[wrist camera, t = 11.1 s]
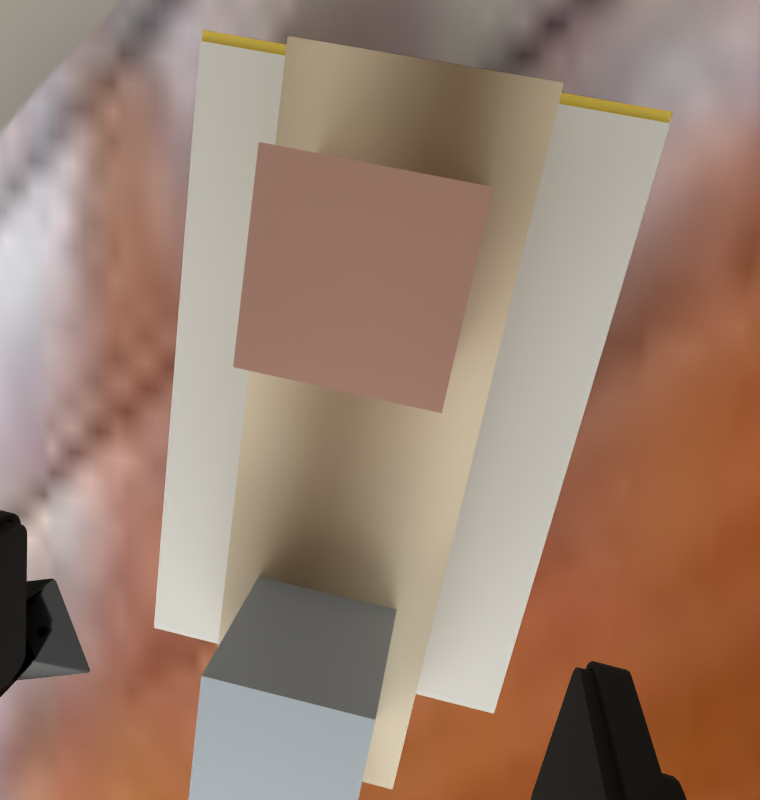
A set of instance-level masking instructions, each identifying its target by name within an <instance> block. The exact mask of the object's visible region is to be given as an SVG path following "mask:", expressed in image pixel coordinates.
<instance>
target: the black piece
mask: <svg viewBox="0 0 760 800" xmlns="http://www.w3.org/2000/svg"><path fill="white" fill-rule="evenodd" d="M89 671H90V669H89V666H88V664H87V661H86V658H85V656H84V653H83V651H82V648H81V645H80V643H79V640H78V638H77V635H76V632H75V630H74V627H73V624H72V622H71V619H70V617H69V614H68V611H67V609H66V606H65V604H64V601H63V598H62V596H61V593H60V591H59V588H58V585H57V583H56V581H55V580H54V579H44V580H36V581H28V582H26V653H25V658H24V662H23V664H22V666H21V668H20V670H19V671H18V673H17V674H16V675H15V676H14V678H13V679H12V680H11V681H10V682H8V683H7V684H6V685H5V686H4V687H3V688H2V689H1V690H0V697H1V696H2V695H3V694H4V693H5V692H6V691H7V690H8V689H9V688H10V686H11V685H12V684H13V683H14V682H15V681H16V680H23V679H33V678H42V677H52V676H62V675H71V674H81V673H88V672H89Z"/></svg>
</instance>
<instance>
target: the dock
mask: <svg viewBox="0 0 760 800" xmlns="http://www.w3.org/2000/svg"><path fill="white" fill-rule="evenodd" d="M285 54H286V45H285V44H280V43H274V42H268V41H262V40H257V39H251V38H245V37H239V36H234V35H228V34H222V33H216V32H211V31H205V30H203V36H202V41H200V45H199V58H198V71H197V84H196V97H195V109H194V122H193V135H192V148H191V161H190V173H189V186H188V199H187V212H186V225H185V237H184V250H183V263H182V276H181V289H180V301H179V314H178V327H177V340H176V353H175V365H174V378H173V391H172V404H171V417H170V429H169V442H168V455H167V468H166V481H165V493H164V506H163V519H162V532H161V545H160V557H159V570H158V583H157V596H156V609H155V621H154V628H157V629H161V630H165V631H169V632H173V633H177V634H181V635H185V636H189V637H193V638H197V639H201V640H205V641H209V642H213V643H217V644H218V639H219V630H220V622H221V613H222V604H223V596H224V587H225V578H226V569H227V561H228V552H229V543H230V534H231V526H232V517H233V508H234V499H235V491H236V482H237V473H238V465H239V456H240V447H241V438H242V430H243V421H244V412H245V403H246V395H247V386H248V377H249V371H248V370H244V369H239V368H235V367H233V363H234V355H235V346H236V337H237V328H238V319H239V311H240V302H241V293H242V284H243V275H244V267H245V258H246V249H247V240H248V231H249V223H250V214H251V205H252V196H253V187H254V179H255V170H256V161H257V152H258V143H259V142H262V143H267V144H272V145H275V142H276V133H277V124H278V115H279V107H280V98H281V89H282V80H283V72H284V63H285ZM671 115H672V112H670V111H665V110H659V109H653V108H647V107H642V106H636V105H630V104H624V103H619V102H613V101H607V100H601V99H596V98H590V97H584V96H578V95H573V94H567V93H561V97H560V102H559V106H558V110H557V114H556V118H555V122H554V126H553V130H552V134H551V139H550V143H549V147H548V151H547V155H546V159H545V163H544V167H543V172H542V176H541V180H540V184H539V188H538V192H537V196H536V200H535V204H534V209H533V213H532V217H531V221H530V225H529V229H528V233H527V237H526V242H525V246H524V250H523V254H522V258H521V262H520V266H519V270H518V275H517V279H516V283H515V287H514V291H513V295H512V299H511V303H510V307H509V312H508V316H507V320H506V324H505V328H504V332H503V336H502V340H501V345H500V349H499V353H498V357H497V361H496V365H495V369H494V373H493V377H492V382H491V386H490V390H489V394H488V398H487V402H486V406H485V410H484V415H483V419H482V423H481V427H480V431H479V435H478V439H477V443H476V448H475V452H474V456H473V460H472V464H471V468H470V472H469V476H468V480H467V485H466V489H465V493H464V497H463V501H462V505H461V509H460V513H459V518H458V522H457V526H456V530H455V534H454V538H453V542H452V546H451V551H450V555H449V559H448V563H447V567H446V571H445V575H444V579H443V583H442V588H441V592H440V596H439V600H438V604H437V608H436V612H435V616H434V621H433V625H432V629H431V633H430V637H429V641H428V645H427V649H426V653H425V658H424V662H423V666H422V670H421V674H420V678H419V682H418V686H417V691H416V694H419V695H423V696H427V697H431V698H435V699H438V700H442V701H446V702H450V703H454V704H458V705H462V706H466V707H470V708H474V709H478V710H482V711H486V712H490V713H494V711H495V708H496V704H497V701H498V698H499V694H500V691H501V688H502V684H503V681H504V678H505V674H506V671H507V668H508V664H509V661H510V658H511V654H512V651H513V648H514V644H515V641H516V638H517V634H518V631H519V628H520V624H521V621H522V618H523V614H524V611H525V608H526V604H527V601H528V598H529V594H530V591H531V588H532V584H533V581H534V578H535V574H536V571H537V568H538V564H539V561H540V558H541V554H542V551H543V548H544V544H545V541H546V538H547V534H548V531H549V527H550V524H551V521H552V517H553V514H554V511H555V507H556V504H557V501H558V497H559V494H560V491H561V487H562V484H563V481H564V477H565V474H566V471H567V467H568V464H569V461H570V457H571V454H572V451H573V447H574V444H575V441H576V437H577V434H578V431H579V427H580V424H581V421H582V417H583V414H584V411H585V407H586V404H587V401H588V397H589V394H590V391H591V387H592V384H593V381H594V377H595V374H596V371H597V367H598V364H599V361H600V357H601V354H602V351H603V347H604V344H605V341H606V337H607V334H608V331H609V327H610V324H611V321H612V317H613V314H614V311H615V307H616V304H617V300H618V297H619V294H620V290H621V287H622V284H623V280H624V277H625V274H626V270H627V267H628V264H629V260H630V257H631V254H632V250H633V247H634V244H635V240H636V237H637V234H638V230H639V227H640V224H641V220H642V217H643V214H644V210H645V207H646V204H647V200H648V197H649V194H650V190H651V187H652V184H653V180H654V177H655V174H656V170H657V167H658V164H659V160H660V157H661V154H662V150H663V147H664V144H665V140H666V137H667V134H668V130H669V127H670V124H671V123H669V122H670V119H671Z"/></svg>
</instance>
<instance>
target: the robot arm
mask: <svg viewBox="0 0 760 800" xmlns="http://www.w3.org/2000/svg"><path fill="white" fill-rule="evenodd" d="M26 579H27V530H26V528H25V526H23V525H21V522H20V519H19V517H18V516H17V515H15V514H13V513H9V512H5V511H1V510H0V690H1V689H2V688H3V687H4V686H5V685H6V684H7V683H8V682H10V681H11V680H12V679H13V678H14V676H15V675H16V674H17V673H18V671H19V670H20V668H21V666H22V664H23V662H24V658H25V653H26ZM531 800H686V797H685V794H684V792H683V789H682V787H681V785H680V783H679V781H678V780H677V779H676V778H675V777H674V776H670V775H666V774H663V773H661V769H660V766H659V763H658V760H657V757H656V753H655V750H654V747H653V744H652V741H651V737H650V734H649V731H648V728H647V724H646V721H645V718H644V715H643V712H642V708H641V705H640V702H639V699H638V696H637V692H636V689H635V686H634V683H633V679H632V676H631V674H630V672H629V671H627V670H625V669H621V668H617V667H613V666H609V665H606V664H602V663H598V662H594V661H591V662H589V664H588V665H587V667H586V669H582V668H578V667H577V668H575V670H574V672H573V674H572V677H571V680H570V683H569V686H568V689H567V692H566V695H565V698H564V701H563V704H562V707H561V710H560V713H559V716H558V719H557V722H556V724H555V727H554V730H553V733H552V736H551V739H550V742H549V745H548V748H547V751H546V754H545V757H544V760H543V763H542V766H541V769H540V772H539V775H538V778H537V781H536V784H535V787H534V790H533V793H532V797H531Z"/></svg>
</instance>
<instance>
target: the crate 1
mask: <svg viewBox="0 0 760 800" xmlns="http://www.w3.org/2000/svg"><path fill="white" fill-rule="evenodd" d="M492 192H493V187H491V186H486V185H480V184H475V183H470V182H465V181H460V180H454V179H449V178H444V177H439V176H434V175H428V174H423V173H418V172H413V171H408V170H402V169H397V168H392V167H387V166H382V165H376V164H371V163H366V162H361V161H356V160H350V159H345V158H340V157H335V156H330V155H324V154H319V153H314V152H309V151H304V150H298V149H293V148H288V147H283V146H278V145H272V144H267V143H262V142H259V143H258V152H257V161H256V170H255V179H254V187H253V196H252V205H251V214H250V223H249V231H248V240H247V249H246V258H245V267H244V275H243V284H242V293H241V302H240V311H239V319H238V328H237V337H236V346H235V355H234V363H233V367H235V368H239V369H244V370H248V371H253V372H257V373H262V374H266V375H271V376H276V377H280V378H285V379H289V380H294V381H298V382H303V383H307V384H312V385H316V386H321V387H325V388H330V389H334V390H339V391H343V392H348V393H352V394H357V395H361V396H366V397H370V398H375V399H379V400H384V401H388V402H393V403H397V404H402V405H406V406H411V407H416V408H420V409H425V410H429V411H434V412H438V413H442V410H443V406H444V402H445V397H446V393H447V388H448V384H449V380H450V375H451V371H452V367H453V362H454V358H455V353H456V349H457V345H458V340H459V336H460V332H461V327H462V323H463V318H464V314H465V310H466V305H467V301H468V297H469V292H470V288H471V284H472V279H473V275H474V270H475V266H476V262H477V257H478V253H479V249H480V244H481V240H482V235H483V231H484V227H485V222H486V218H487V214H488V209H489V205H490V200H491V196H492Z"/></svg>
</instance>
